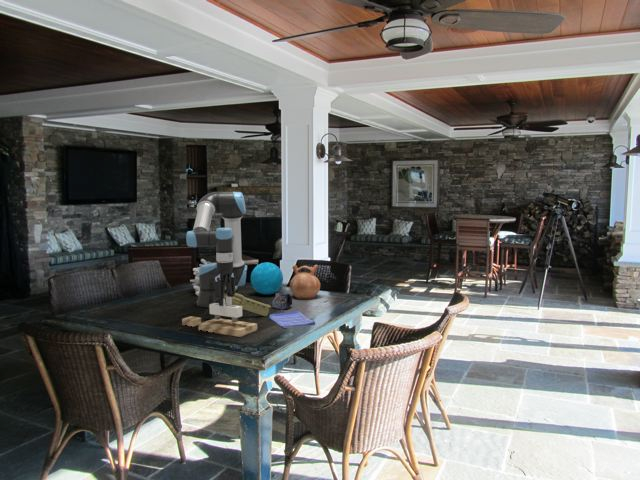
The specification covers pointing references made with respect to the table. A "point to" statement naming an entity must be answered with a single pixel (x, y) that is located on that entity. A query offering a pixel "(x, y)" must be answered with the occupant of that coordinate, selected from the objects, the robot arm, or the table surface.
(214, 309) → the strip
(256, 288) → the decorative sphere
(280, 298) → the rock
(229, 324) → the board
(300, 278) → the jug
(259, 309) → the handgun
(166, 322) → the table surface
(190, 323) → the stand
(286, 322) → the dish towel
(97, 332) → the table surface
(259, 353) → the table surface
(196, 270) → the abstract sculpture
